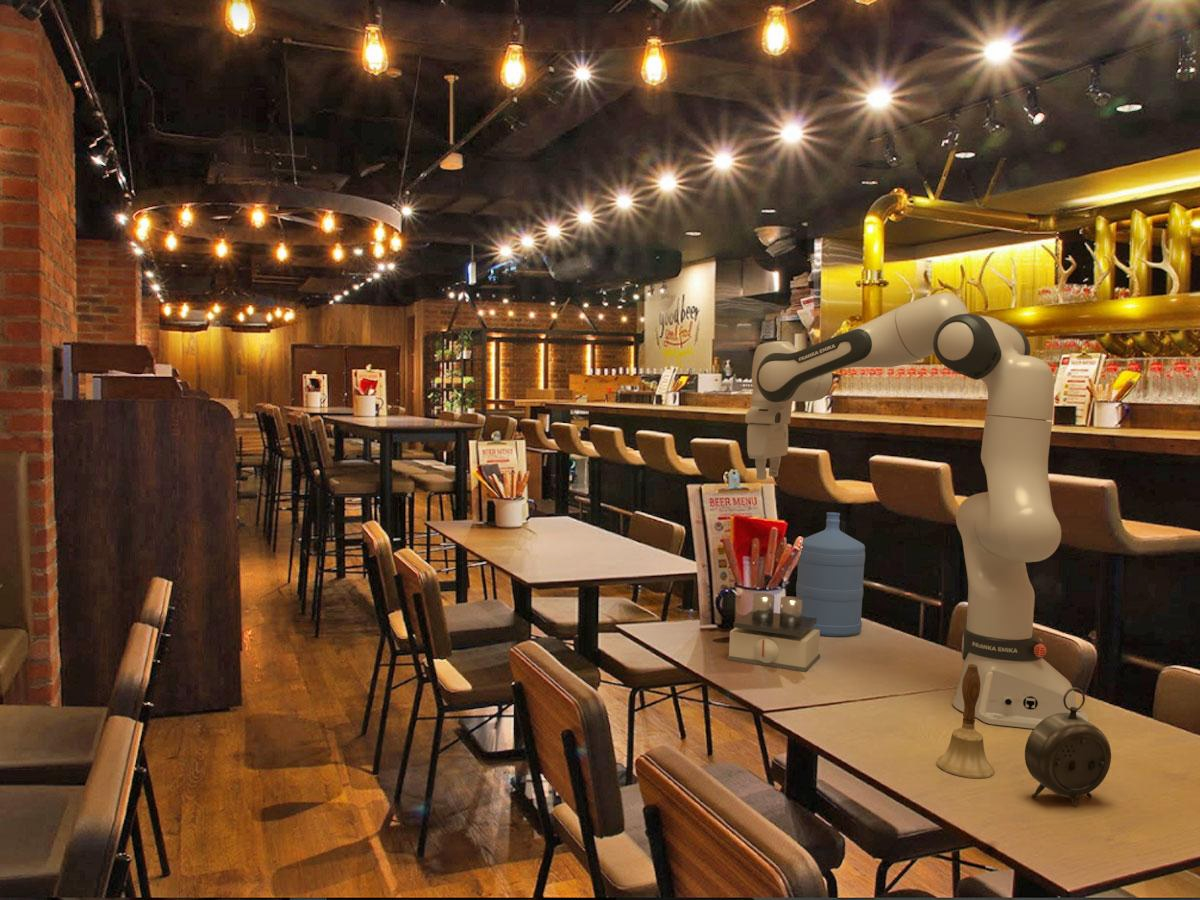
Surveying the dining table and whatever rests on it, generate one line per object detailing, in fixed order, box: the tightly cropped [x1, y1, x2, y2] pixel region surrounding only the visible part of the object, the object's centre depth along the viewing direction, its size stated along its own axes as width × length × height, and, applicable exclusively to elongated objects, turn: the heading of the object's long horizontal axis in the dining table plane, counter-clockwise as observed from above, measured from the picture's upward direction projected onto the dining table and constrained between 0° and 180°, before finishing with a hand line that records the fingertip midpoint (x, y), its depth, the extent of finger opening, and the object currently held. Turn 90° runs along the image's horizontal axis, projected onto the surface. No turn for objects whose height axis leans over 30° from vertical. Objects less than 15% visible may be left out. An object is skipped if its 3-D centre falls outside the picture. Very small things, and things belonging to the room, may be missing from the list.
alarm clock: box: [1024, 687, 1112, 808], centre depth 139 cm, size 11×5×16 cm, turn 99°
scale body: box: [726, 627, 821, 673], centre depth 209 cm, size 17×13×6 cm
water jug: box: [795, 511, 866, 638], centre depth 237 cm, size 16×16×28 cm
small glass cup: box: [751, 592, 775, 621], centre depth 210 cm, size 4×4×5 cm
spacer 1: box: [779, 595, 802, 625], centre depth 208 cm, size 4×4×5 cm
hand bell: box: [936, 664, 995, 779], centre depth 151 cm, size 8×8×16 cm
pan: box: [733, 609, 817, 637], centre depth 209 cm, size 14×14×2 cm
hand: (767, 478), depth 219 cm, fingers open, 8 cm apart
